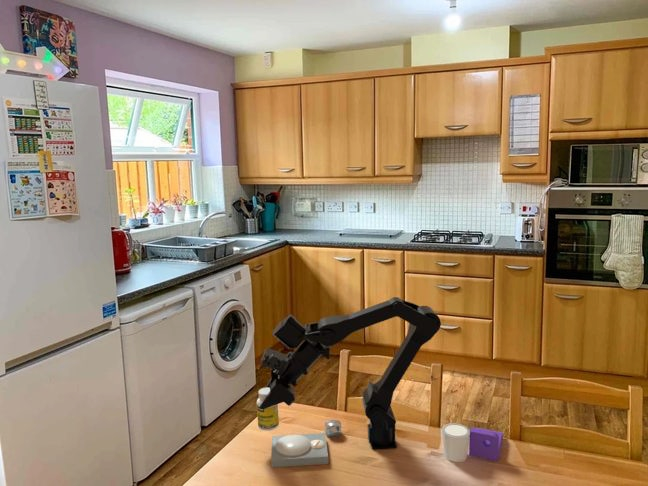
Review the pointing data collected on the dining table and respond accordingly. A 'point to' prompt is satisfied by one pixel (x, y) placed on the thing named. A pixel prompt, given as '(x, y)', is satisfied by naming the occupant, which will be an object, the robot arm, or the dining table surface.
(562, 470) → the dining table surface
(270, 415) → the supplement bottle
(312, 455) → the scale
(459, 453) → the white short tapered cylinder
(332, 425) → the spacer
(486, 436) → the purple box with knob
